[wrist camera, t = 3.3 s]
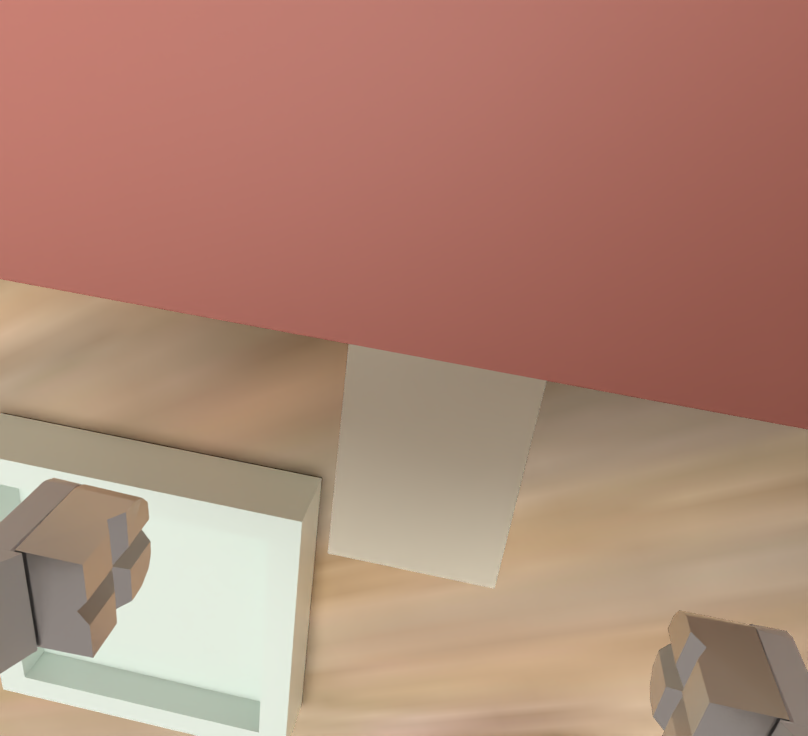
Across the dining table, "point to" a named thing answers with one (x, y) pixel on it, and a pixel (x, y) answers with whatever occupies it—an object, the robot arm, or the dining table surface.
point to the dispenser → (432, 179)
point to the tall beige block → (430, 463)
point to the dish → (183, 585)
